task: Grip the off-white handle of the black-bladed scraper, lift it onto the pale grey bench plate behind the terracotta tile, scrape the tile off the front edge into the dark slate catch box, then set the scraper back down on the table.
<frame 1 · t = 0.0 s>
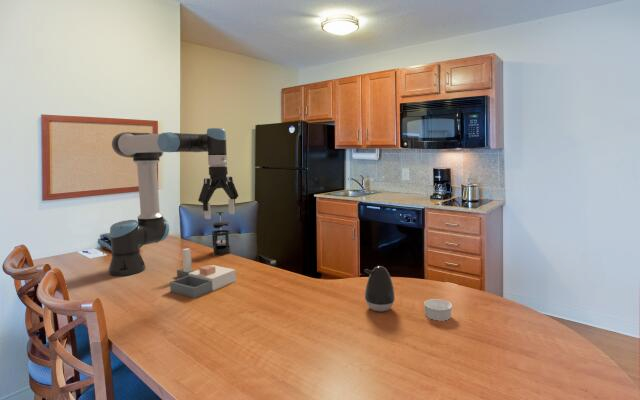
hand: (220, 216, 156), 28 cm above the table, tool pointing down, fingers open, 13 cm apart
ramekin: (437, 317, 121), on the table
pump dispenser: (379, 309, 128), on the table
french press: (221, 253, 204), on the table
catch box: (191, 291, 146), on the table
bench plate: (212, 282, 156), on the table
tile: (207, 273, 153), point 5 cm above the table, touching bench plate
scraper: (188, 277, 163), on the table
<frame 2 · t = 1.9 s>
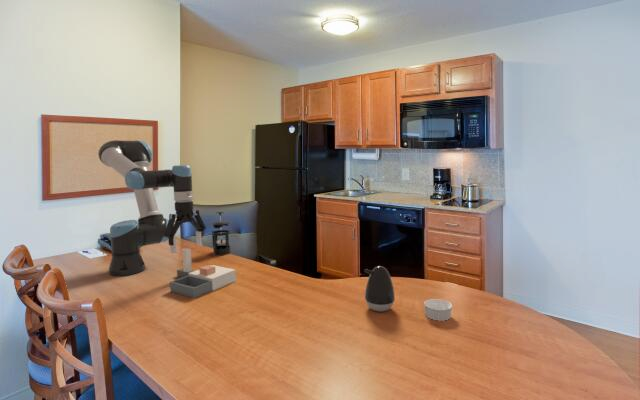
hand: (186, 249, 161), 13 cm above the table, tool pointing down, fingers open, 13 cm apart
nothing on the table moved.
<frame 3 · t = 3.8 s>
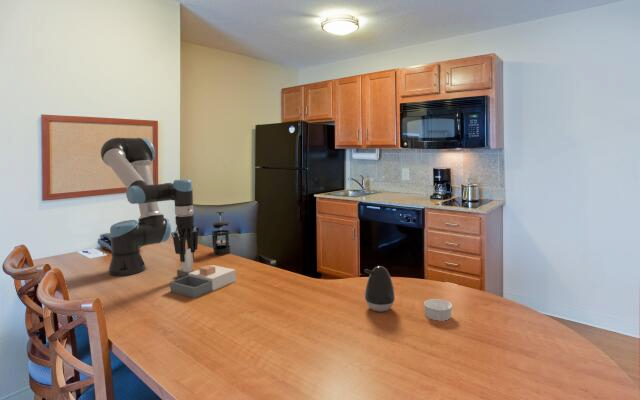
hand: (187, 267, 162), 5 cm above the table, tool pointing down, fingers closed on scraper, 2 cm apart
scraper: (188, 277, 163), on the table, touching gripper
everything else where it was.
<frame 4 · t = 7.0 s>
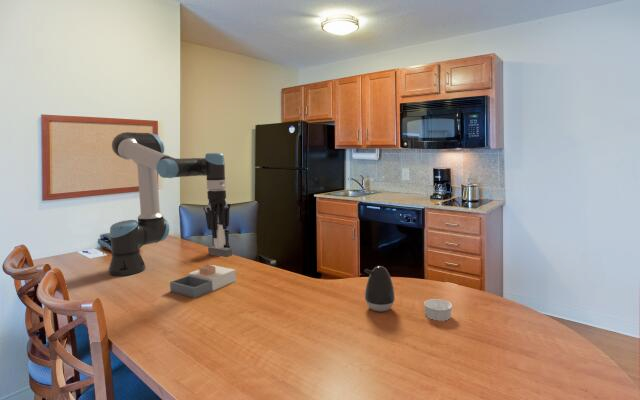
hand: (219, 244, 157), 16 cm above the table, tool pointing down, fingers closed on scraper, 2 cm apart
scraper: (220, 254, 158), point 11 cm above the table, touching gripper
everything else where it was.
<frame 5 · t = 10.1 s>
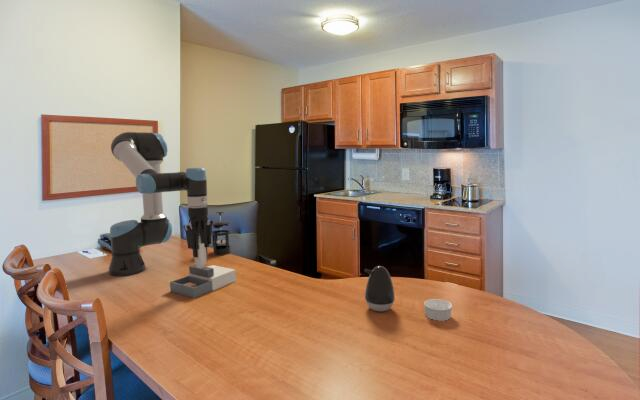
hand: (200, 263, 150), 10 cm above the table, tool pointing down, fingers closed on scraper, 2 cm apart
tile: (188, 284, 145), point 3 cm above the table, tilted 180°, touching catch box
scraper: (201, 274, 150), point 5 cm above the table, touching gripper
everything else where it was.
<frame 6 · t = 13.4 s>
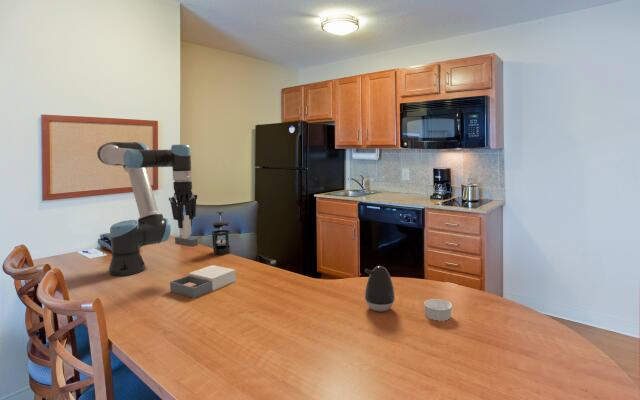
hand: (185, 234, 160), 19 cm above the table, tool pointing down, fingers closed on scraper, 2 cm apart
scraper: (186, 244, 161), point 15 cm above the table, touching gripper
everything else where it was.
when the fingers open (6 cm above the table, at t = 15.9 s): scraper drops 1 cm, on the table.
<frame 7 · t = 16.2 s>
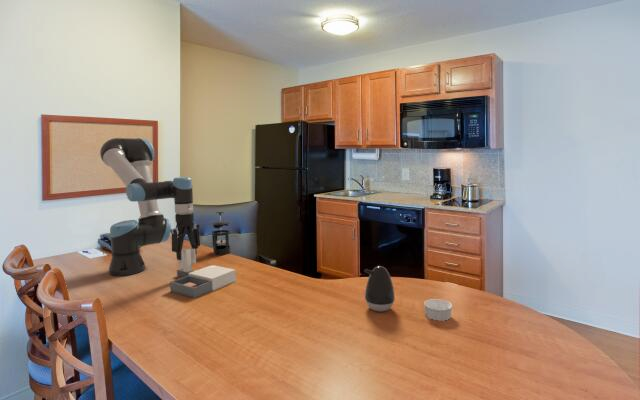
hand: (187, 264, 162), 6 cm above the table, tool pointing down, fingers open, 6 cm apart
scraper: (188, 277, 163), on the table
everything else where it was.
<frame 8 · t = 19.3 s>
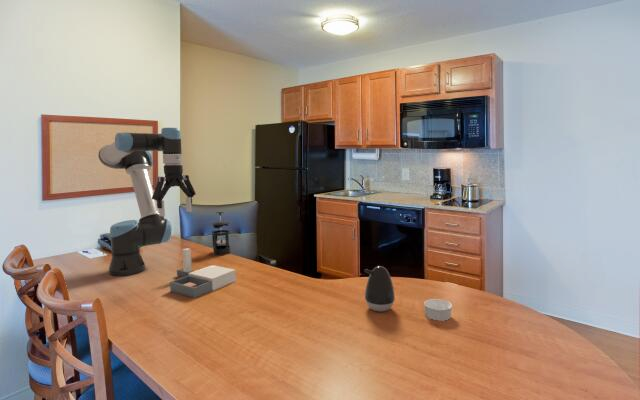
hand: (176, 213, 159), 29 cm above the table, tool pointing down, fingers open, 13 cm apart
nothing on the table moved.
at the end: tile inside the target area on the catch box (1.4 cm from its centre), point 3.1 cm above the catch box's base; the gripper is holding nothing; scraper inside the target area (0.0 cm from its centre), on the table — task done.
